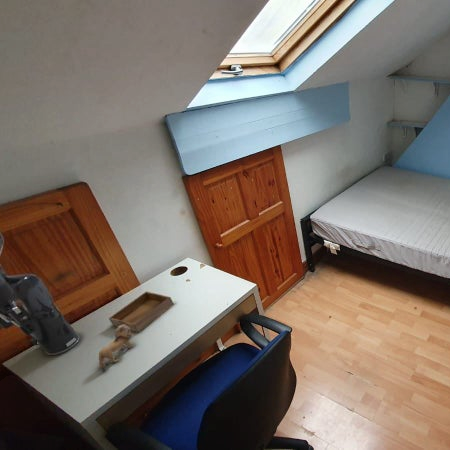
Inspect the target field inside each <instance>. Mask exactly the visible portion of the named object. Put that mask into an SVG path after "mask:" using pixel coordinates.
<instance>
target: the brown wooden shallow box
mask: <svg viewBox="0 0 450 450" xmlns="http://www.w3.org/2000/svg"><path fill="white" fill-rule="evenodd" d="M174 305H175V304H174V302H173V299H172V298H171V296H168V295H163V294H159V293H155V292H150V291H147V290H145V292H143V293H142V294H141V295H139V296H137V297H136V298H134V299H133V300H132V301H130V302H129V303H128V304H127V305H125V306H124V307H122V308H120V309H119V310H118V311H117V312H116V313H114V314H112V315H111V316H110V317H108V320H109V321H110V323H111V324H112V326H113V327H117V328H118V326H120V325H124V324H125V325H126V326H128V327H129V329H130V331H131V332H135V333H138V334H139V333H141V332H142V331H143V330H145V329H146V328H147V327H148V326H150V325H151V324H152V323H153V322H154V321H155V320H157V319H158V318H159V317H160V316H161V315H163V314H164V313H165V312H167V311H168V310H169V309H170V308H172V307H173V306H174Z"/></svg>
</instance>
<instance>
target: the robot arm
mask: <svg viewBox="0 0 450 450" xmlns="http://www.w3.org/2000/svg"><path fill="white" fill-rule="evenodd" d="M4 245H5V238H4V236H3V234H2V231H0V256H2V255H1V254H2V251H3V250H4V249H3V248H4ZM20 303H21V304H20ZM0 326H1V328H3V329H4V330H8V329H9V328H11V327H12V326H15V327H17V328H18V329H19V330H20V331H21V332H22V333H23V334H24V335H25V336H31V338H30V339H29V341H30V342H31V343H32V345H34V346H39V347H41V349H42V350H43V351H44V353H45V354H46V355H48V356H58V355H60V354H64V353H66V352H67V351H69V350H71V349H73V348H74V347H75V346H76V345H78V343H79V342H80V340H81V336H80V335H79V334H78V333H77V331H76V330H75V329H74V327H73V326H72V324H71V323H70V322H69V321H68V319H66V317H65V315H63V313H62V312H61V311H60V309H59V308H58V307H57V305H56V304H55V302H54V298H53V295H52V294H51V292H50V291H49V289H48V288H47V286H46V285H45V283H44V281H43V280H42V279H41V278H40V277H39V276H38V275H36V274H33V273H25V274H24V273H23V274H16V275H8V273H7V272H6V271H5V270H4V269H3V266H2V264H1V263H0Z"/></svg>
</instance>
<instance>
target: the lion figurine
mask: <svg viewBox="0 0 450 450" xmlns="http://www.w3.org/2000/svg"><path fill="white" fill-rule="evenodd" d="M114 332H115V338H114V340H113V341H112V342H111V343H110V344H108V345H107V346H105V347H103V348H101V350H100V351H99V353H98V362H99V363H98V365H99V367H100V368H102V369H101V372H102V373H103V372H104V371H105V368H106V366H107V364H106V363H104V361H105V359H108V360H109V361H110V362H111V363H118V362H119V361H121V359H120V358H117V359H115V358H114V357H115V356H114V353H115V352H117V351H119V350H121V349H123V350H124V349H125V348H126V347H127V348H129V349H132V348H133V347H134V345H133V344H131V342H130V339H131V338H132V331H131V330H130V329H129V327H128V326H126V325H125V324H124V325H120V326H118V327H117V328H115V330H114Z"/></svg>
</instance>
